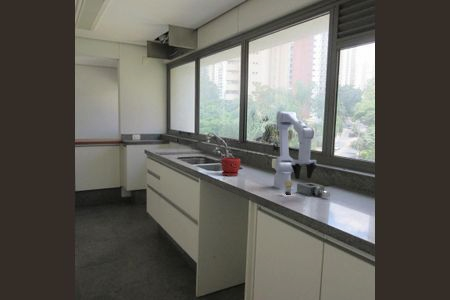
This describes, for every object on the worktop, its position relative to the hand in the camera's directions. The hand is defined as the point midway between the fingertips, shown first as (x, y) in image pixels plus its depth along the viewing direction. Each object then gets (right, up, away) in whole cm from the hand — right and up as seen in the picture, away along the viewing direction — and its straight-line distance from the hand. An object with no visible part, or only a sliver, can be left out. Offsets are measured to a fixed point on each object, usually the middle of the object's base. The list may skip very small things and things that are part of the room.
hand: (303, 178), depth 161 cm
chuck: (+8, -10, +6) cm, 14 cm away
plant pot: (-36, -3, +61) cm, 71 cm away
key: (-7, -9, +4) cm, 12 cm away
